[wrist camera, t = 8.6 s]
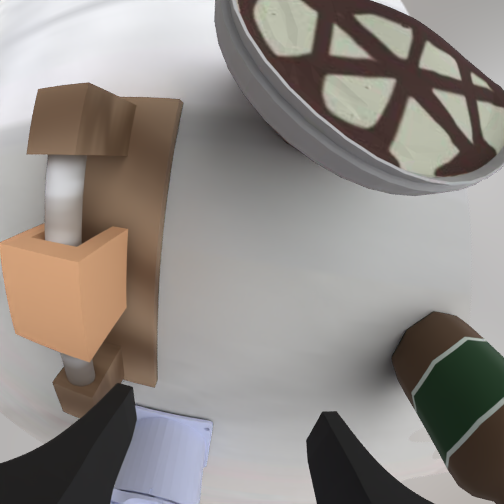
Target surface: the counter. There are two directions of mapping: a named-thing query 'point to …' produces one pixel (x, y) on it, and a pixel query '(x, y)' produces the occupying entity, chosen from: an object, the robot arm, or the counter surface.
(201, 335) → the counter surface
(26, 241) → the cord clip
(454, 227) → the counter surface
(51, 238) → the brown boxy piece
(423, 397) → the beer bottle
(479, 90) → the food container
